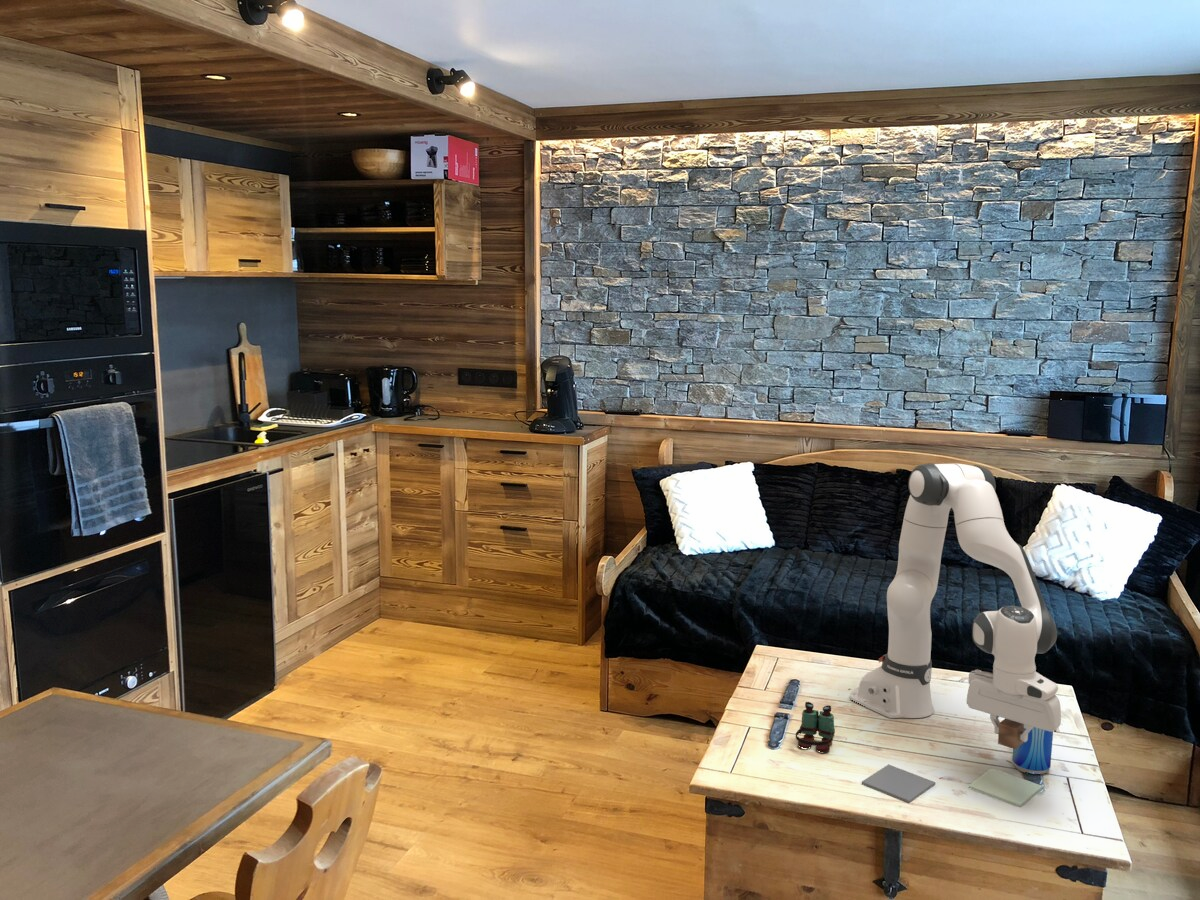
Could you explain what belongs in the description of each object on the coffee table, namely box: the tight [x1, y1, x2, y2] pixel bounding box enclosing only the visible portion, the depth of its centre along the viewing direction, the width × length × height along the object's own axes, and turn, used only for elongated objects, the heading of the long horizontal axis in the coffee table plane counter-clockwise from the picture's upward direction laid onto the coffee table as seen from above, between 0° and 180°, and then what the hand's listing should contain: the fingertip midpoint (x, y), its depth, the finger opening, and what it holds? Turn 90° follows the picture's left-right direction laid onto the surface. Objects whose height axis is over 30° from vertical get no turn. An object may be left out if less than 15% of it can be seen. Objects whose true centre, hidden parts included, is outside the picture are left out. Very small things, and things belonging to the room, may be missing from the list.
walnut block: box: [997, 718, 1024, 750], centre depth 220 cm, size 4×4×5 cm
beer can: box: [1011, 727, 1054, 775], centre depth 231 cm, size 8×8×16 cm
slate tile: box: [861, 764, 936, 804], centre depth 224 cm, size 12×12×1 cm
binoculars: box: [795, 701, 836, 753], centre depth 242 cm, size 9×11×10 cm
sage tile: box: [967, 767, 1044, 808], centre depth 223 cm, size 12×12×1 cm
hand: (1010, 737), depth 221 cm, fingers closed on walnut block, 4 cm apart
